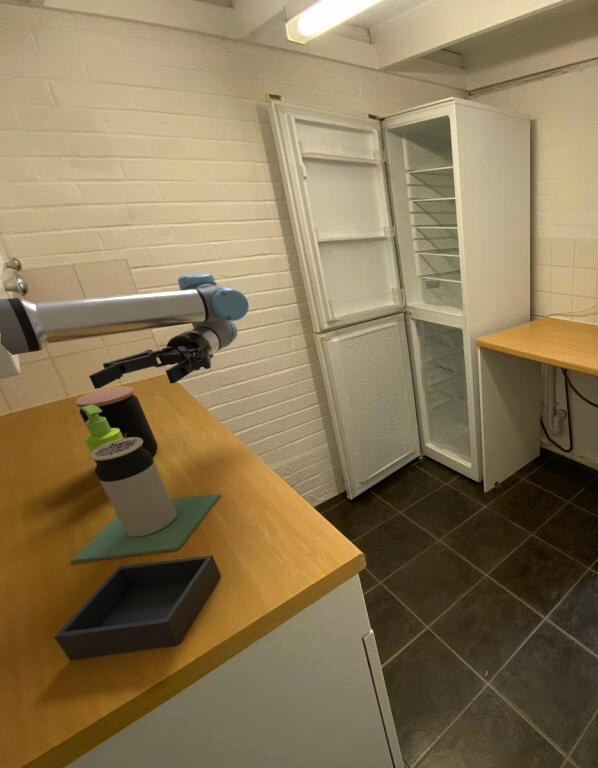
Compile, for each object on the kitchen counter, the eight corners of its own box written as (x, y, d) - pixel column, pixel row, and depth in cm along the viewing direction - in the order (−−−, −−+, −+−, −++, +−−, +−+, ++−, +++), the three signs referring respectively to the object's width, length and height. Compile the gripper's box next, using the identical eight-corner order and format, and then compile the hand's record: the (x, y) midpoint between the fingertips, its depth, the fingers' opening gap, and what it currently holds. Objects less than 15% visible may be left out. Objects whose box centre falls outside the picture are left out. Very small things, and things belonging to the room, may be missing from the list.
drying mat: (71, 562, 76) (69, 560, 76) (132, 505, 90) (131, 502, 90) (178, 550, 78) (177, 547, 78) (221, 495, 92) (220, 493, 92)
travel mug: (181, 522, 84) (147, 445, 77) (130, 544, 79) (88, 464, 72) (173, 504, 89) (140, 431, 82) (124, 524, 84) (85, 448, 77)
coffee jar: (94, 468, 104) (61, 403, 97) (135, 445, 114) (108, 385, 106) (131, 470, 102) (101, 405, 95) (170, 447, 112) (144, 386, 105)
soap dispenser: (116, 494, 94) (76, 416, 86) (104, 485, 97) (65, 409, 89) (147, 481, 98) (112, 405, 90) (135, 472, 102) (101, 398, 94)
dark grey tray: (69, 660, 59) (53, 637, 57) (130, 587, 70) (118, 566, 68) (179, 645, 61) (167, 622, 59) (221, 576, 72) (212, 554, 70)
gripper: (251, 357, 104) (206, 392, 85) (142, 364, 101) (70, 402, 82) (243, 328, 101) (194, 357, 82) (130, 334, 98) (52, 366, 79)
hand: (132, 379), depth 82 cm, fingers open, 13 cm apart
